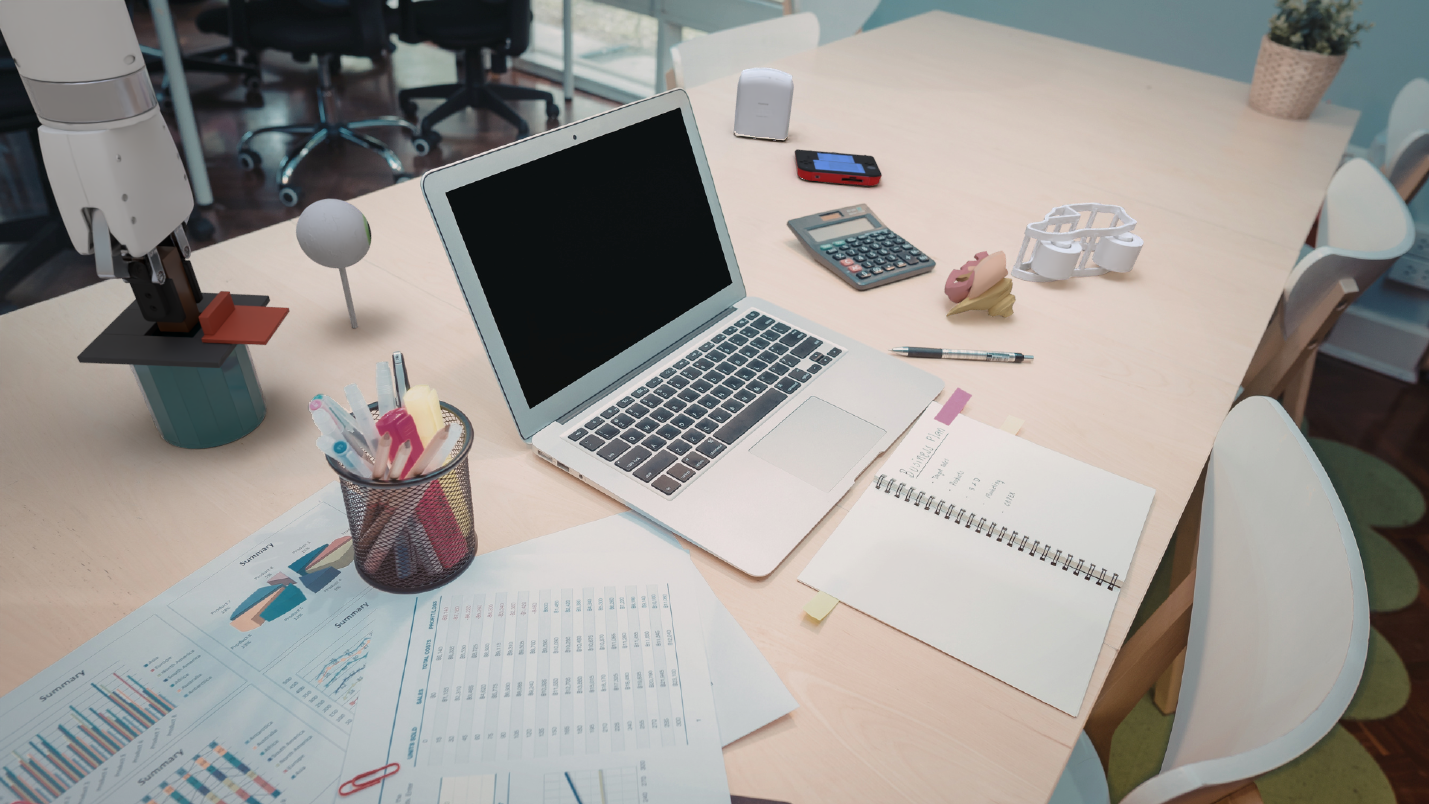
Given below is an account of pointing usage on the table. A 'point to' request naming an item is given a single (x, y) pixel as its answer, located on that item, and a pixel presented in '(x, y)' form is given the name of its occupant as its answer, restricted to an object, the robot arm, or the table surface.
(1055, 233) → the wheeled car silhouette
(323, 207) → the lollipop
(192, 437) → the cup
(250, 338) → the slider
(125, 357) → the cup lid
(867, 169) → the game console
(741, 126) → the photo printer
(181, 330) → the peg
